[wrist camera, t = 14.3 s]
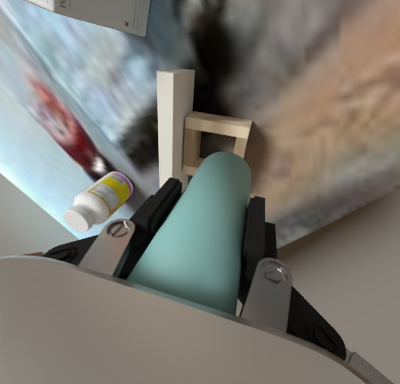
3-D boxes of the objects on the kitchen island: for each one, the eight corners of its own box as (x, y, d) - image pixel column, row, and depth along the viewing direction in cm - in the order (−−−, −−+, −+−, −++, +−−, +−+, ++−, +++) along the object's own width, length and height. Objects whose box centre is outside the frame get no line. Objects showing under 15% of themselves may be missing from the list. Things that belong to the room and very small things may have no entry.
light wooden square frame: (252, 120, 31) (249, 127, 27) (240, 174, 36) (237, 185, 32) (194, 111, 32) (185, 117, 29) (190, 163, 37) (182, 173, 34)
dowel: (257, 157, 14) (240, 367, 4) (245, 204, 16) (214, 416, 7) (201, 146, 15) (76, 308, 5) (196, 193, 17) (102, 369, 7)
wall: (194, 70, 29) (173, 73, 23) (187, 196, 42) (171, 221, 35) (181, 68, 30) (156, 71, 23) (177, 194, 42) (160, 218, 36)
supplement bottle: (114, 197, 48) (71, 236, 37) (102, 171, 45) (50, 205, 34) (139, 196, 46) (99, 237, 35) (127, 169, 42) (80, 204, 32)
